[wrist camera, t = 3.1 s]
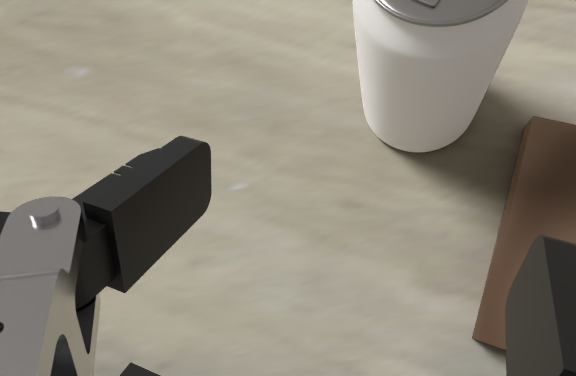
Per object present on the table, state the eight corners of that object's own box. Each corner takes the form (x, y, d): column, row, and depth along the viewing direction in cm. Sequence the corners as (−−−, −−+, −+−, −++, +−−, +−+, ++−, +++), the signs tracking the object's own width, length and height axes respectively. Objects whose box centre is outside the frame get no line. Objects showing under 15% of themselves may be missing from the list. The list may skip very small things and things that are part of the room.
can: (496, 85, 26) (585, -88, 14) (437, 175, 25) (481, 69, 14) (399, 39, 28) (411, -145, 16) (342, 121, 27) (313, -10, 16)
